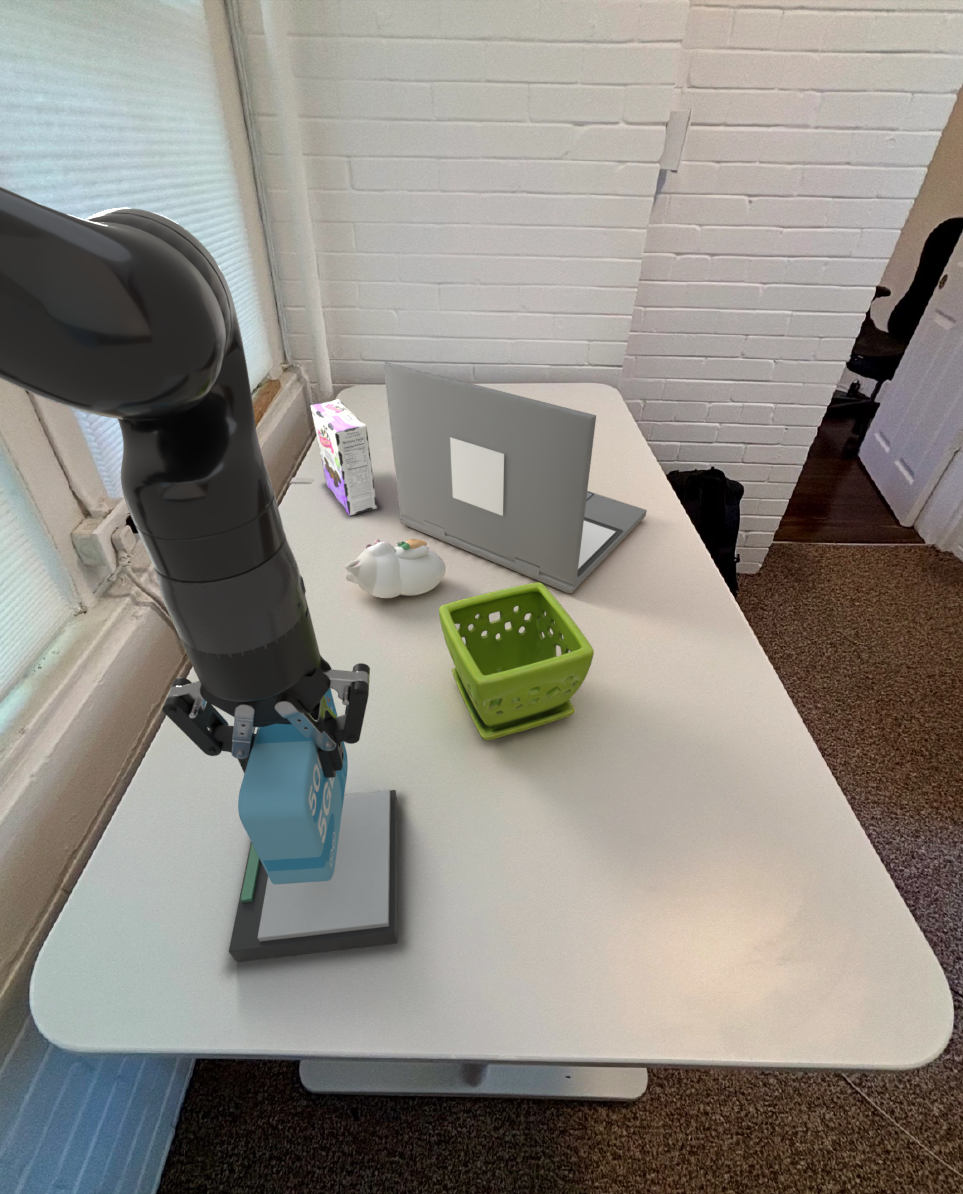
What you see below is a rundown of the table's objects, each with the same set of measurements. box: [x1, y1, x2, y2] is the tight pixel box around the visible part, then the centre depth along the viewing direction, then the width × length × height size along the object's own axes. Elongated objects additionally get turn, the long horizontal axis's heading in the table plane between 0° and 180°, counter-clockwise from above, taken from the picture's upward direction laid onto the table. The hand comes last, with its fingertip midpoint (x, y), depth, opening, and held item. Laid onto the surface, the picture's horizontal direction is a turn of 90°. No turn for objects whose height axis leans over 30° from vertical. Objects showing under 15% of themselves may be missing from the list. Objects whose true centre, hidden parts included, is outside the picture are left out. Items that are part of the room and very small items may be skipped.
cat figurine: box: [344, 538, 446, 599], centre depth 88 cm, size 10×8×15 cm
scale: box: [228, 789, 399, 963], centre depth 56 cm, size 14×14×3 cm
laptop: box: [383, 361, 648, 594], centre depth 96 cm, size 35×26×28 cm
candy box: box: [310, 398, 378, 516], centre depth 108 cm, size 14×6×16 cm, turn 30°
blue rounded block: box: [237, 688, 349, 884], centre depth 47 cm, size 12×4×12 cm, turn 4°
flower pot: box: [438, 581, 595, 741], centre depth 70 cm, size 14×14×13 cm
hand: (298, 770), depth 46 cm, fingers closed on blue rounded block, 4 cm apart
